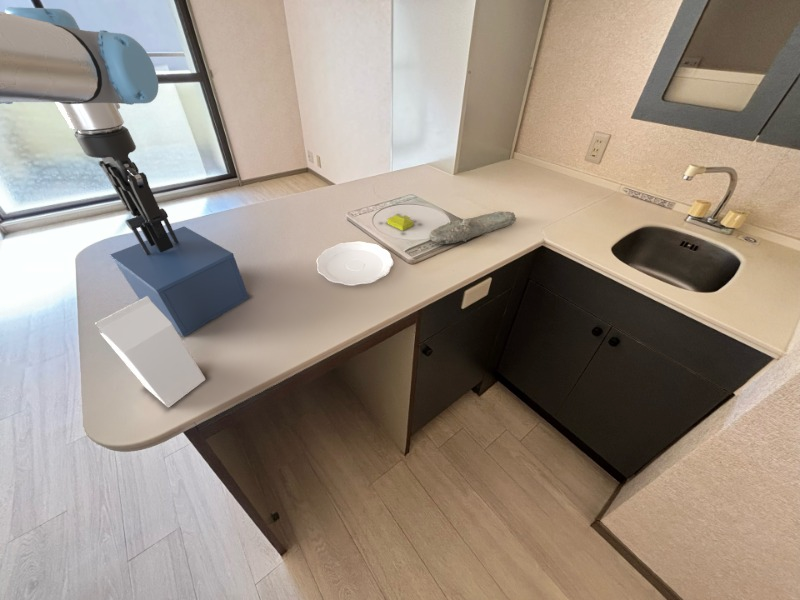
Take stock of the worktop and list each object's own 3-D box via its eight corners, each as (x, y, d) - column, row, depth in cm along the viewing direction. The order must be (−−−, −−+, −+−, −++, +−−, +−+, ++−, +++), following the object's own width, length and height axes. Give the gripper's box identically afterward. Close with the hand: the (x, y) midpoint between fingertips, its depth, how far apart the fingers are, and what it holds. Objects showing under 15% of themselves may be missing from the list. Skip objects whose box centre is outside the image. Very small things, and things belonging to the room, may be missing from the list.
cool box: (140, 301, 77) (113, 259, 69) (205, 270, 87) (187, 230, 79) (184, 337, 69) (158, 293, 61) (249, 298, 79) (234, 256, 71)
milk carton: (206, 379, 61) (160, 304, 49) (168, 408, 56) (107, 333, 44) (184, 363, 64) (135, 288, 51) (146, 389, 59) (83, 313, 47)
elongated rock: (521, 229, 112) (500, 218, 119) (525, 214, 109) (503, 204, 116) (441, 250, 97) (422, 237, 103) (443, 234, 94) (423, 221, 100)
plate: (360, 238, 102) (360, 234, 101) (408, 267, 91) (408, 262, 90) (302, 264, 90) (301, 259, 89) (348, 300, 79) (348, 295, 78)
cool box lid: (111, 257, 69) (86, 220, 64) (185, 229, 79) (169, 194, 74) (158, 293, 61) (134, 254, 55) (234, 256, 71) (220, 219, 65)
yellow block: (380, 223, 110) (380, 215, 108) (399, 215, 115) (399, 207, 113) (403, 234, 105) (403, 226, 103) (420, 224, 110) (421, 216, 108)
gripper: (146, 132, 55) (199, 251, 70) (104, 117, 61) (160, 228, 77) (94, 142, 50) (163, 267, 65) (55, 124, 57) (125, 241, 72)
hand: (161, 245), depth 71 cm, fingers open, 3 cm apart
